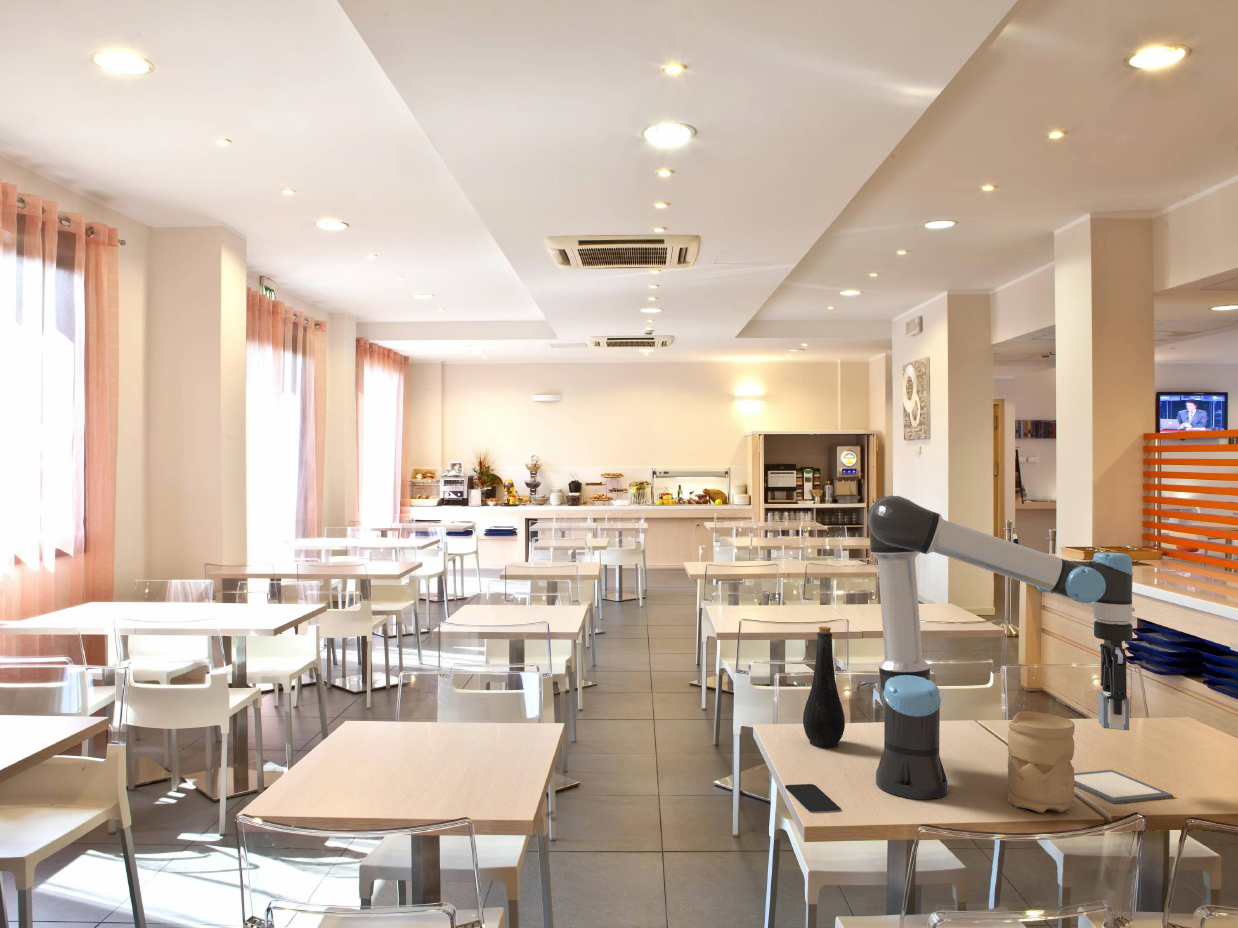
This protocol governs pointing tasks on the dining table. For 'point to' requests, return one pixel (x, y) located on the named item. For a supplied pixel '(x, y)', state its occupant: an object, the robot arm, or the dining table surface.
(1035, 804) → the container
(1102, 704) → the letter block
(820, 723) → the bottle
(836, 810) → the smartphone
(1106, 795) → the grey bordered square plate
